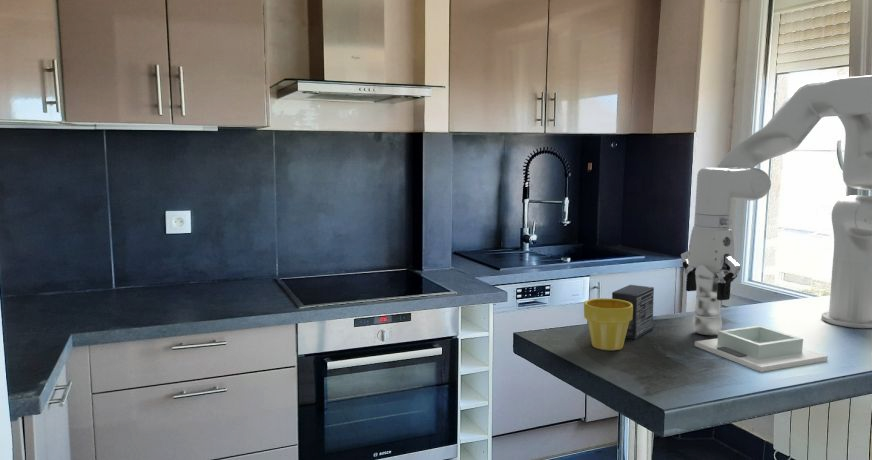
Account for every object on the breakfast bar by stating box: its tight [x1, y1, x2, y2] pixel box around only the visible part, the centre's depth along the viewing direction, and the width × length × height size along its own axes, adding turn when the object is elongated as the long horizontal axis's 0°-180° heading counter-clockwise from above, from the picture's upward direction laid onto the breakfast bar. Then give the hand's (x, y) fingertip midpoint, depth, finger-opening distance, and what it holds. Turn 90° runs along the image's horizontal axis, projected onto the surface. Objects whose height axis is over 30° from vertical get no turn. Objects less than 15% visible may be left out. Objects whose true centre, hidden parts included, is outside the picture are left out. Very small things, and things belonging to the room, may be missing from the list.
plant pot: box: [583, 297, 633, 351], centre depth 145 cm, size 10×10×10 cm
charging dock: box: [694, 325, 829, 373], centre depth 140 cm, size 18×18×4 cm
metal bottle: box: [691, 265, 725, 336], centre depth 153 cm, size 6×7×20 cm
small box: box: [611, 284, 655, 340], centre depth 156 cm, size 11×6×10 cm, turn 141°
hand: (707, 295), depth 153 cm, fingers open, 9 cm apart
